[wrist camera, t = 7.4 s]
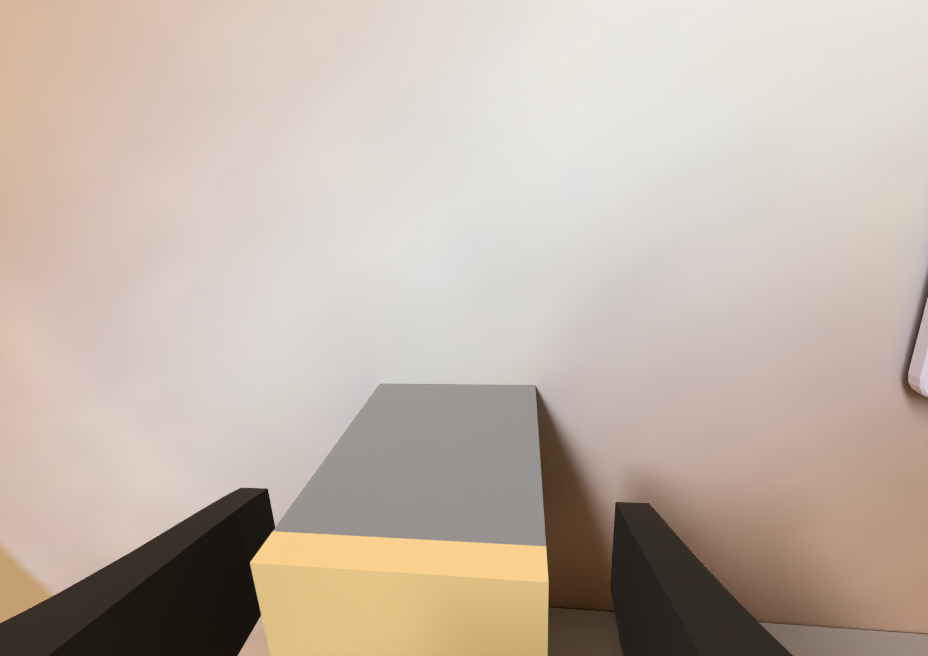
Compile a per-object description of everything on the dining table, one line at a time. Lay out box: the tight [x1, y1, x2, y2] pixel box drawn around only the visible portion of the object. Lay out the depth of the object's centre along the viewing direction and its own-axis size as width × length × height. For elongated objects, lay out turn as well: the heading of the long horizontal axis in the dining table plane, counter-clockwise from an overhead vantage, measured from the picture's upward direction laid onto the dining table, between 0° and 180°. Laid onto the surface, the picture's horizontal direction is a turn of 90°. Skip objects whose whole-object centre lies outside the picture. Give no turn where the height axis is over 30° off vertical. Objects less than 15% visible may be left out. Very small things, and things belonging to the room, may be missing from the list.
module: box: [250, 384, 549, 656], centre depth 9 cm, size 4×4×6 cm
